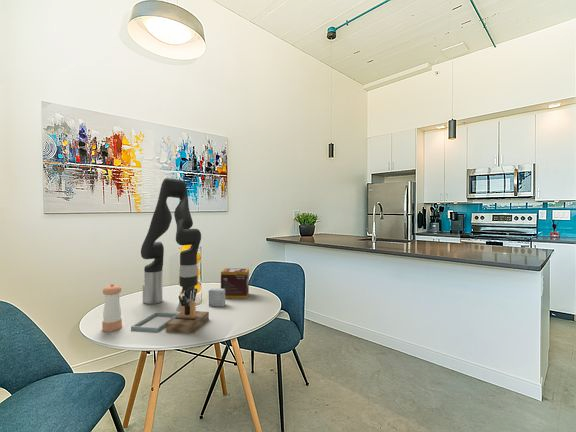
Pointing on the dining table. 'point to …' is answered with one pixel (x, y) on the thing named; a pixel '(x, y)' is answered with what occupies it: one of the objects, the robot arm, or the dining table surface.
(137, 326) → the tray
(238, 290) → the supplement box
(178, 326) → the slotted wooden block
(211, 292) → the grey cube
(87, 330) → the dining table surface
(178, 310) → the flask
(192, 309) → the tan rectangular block
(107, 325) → the pepper shaker
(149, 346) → the dining table surface
